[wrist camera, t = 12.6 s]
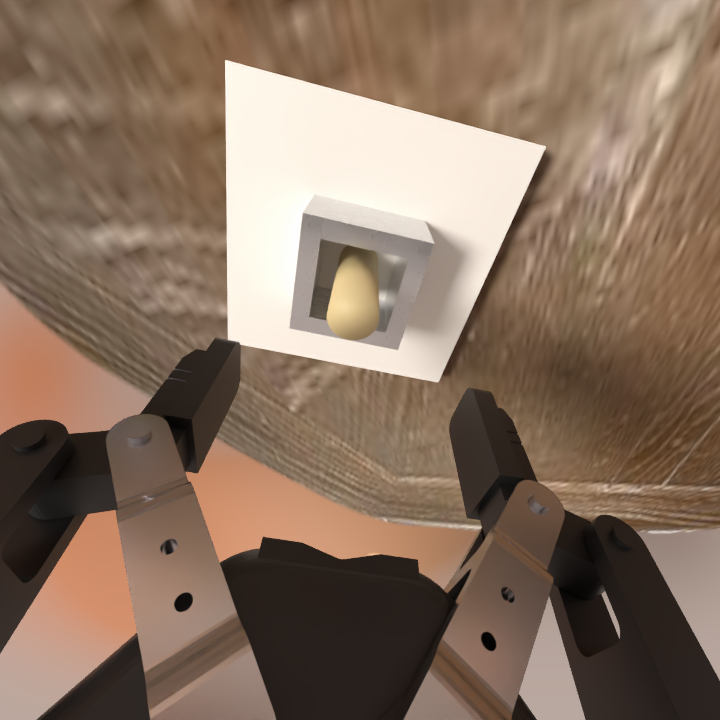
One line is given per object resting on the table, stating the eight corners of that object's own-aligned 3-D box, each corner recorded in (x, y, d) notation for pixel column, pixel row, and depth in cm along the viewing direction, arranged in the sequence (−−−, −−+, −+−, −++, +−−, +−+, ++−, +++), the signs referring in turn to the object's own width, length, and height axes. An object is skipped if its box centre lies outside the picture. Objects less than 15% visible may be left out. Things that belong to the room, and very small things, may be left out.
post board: (535, 143, 19) (625, 167, 12) (435, 370, 28) (454, 456, 22) (235, 62, 17) (145, 38, 11) (234, 331, 27) (186, 410, 20)
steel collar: (425, 220, 20) (434, 243, 17) (394, 316, 24) (398, 350, 21) (314, 194, 20) (302, 212, 16) (301, 296, 23) (289, 328, 20)
